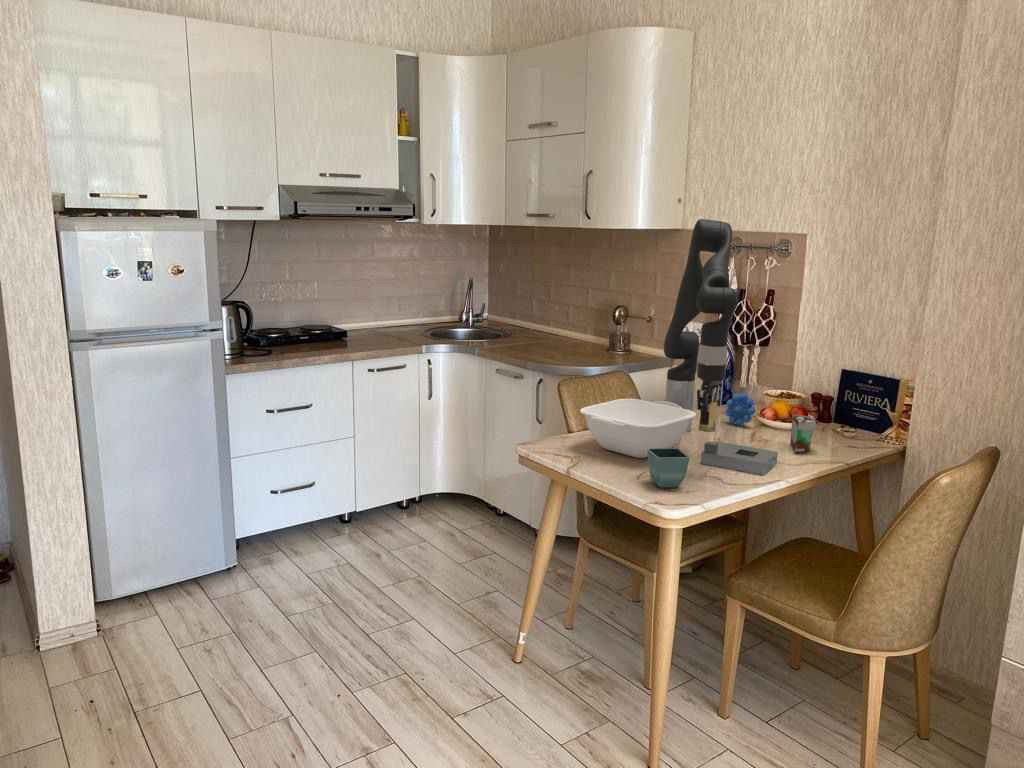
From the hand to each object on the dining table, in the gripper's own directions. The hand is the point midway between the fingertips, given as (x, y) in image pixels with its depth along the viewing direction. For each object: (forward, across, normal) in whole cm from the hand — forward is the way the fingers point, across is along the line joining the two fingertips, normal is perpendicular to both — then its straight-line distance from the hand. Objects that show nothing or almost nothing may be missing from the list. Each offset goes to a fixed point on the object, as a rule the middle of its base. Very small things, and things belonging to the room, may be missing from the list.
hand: (707, 422), depth 214 cm
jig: (+15, -16, +5) cm, 22 cm away
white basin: (+15, -10, -25) cm, 31 cm away
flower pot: (+15, +15, -5) cm, 22 cm away
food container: (+15, -42, +17) cm, 48 cm away
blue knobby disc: (+15, -60, -8) cm, 62 cm away
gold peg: (+2, 0, 0) cm, 2 cm away
